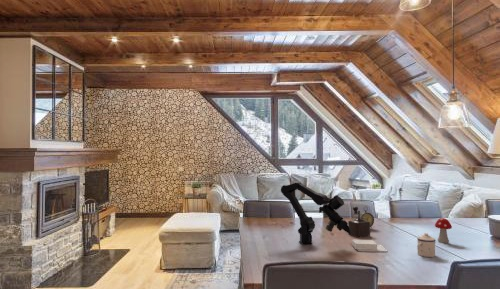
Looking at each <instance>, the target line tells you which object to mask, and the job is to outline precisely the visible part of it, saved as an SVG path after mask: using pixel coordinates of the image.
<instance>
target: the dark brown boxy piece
mask: <svg viewBox="0 0 500 289" xmlns="http://www.w3.org/2000/svg"><path fill="white" fill-rule="evenodd" d="M352 211H353V213H352V215H355V216H356V215H357V216H358V217H357V218H355V219H351V220H348V221H347V223H348V227H349V230H350V232H351V233H350V234H349V233H348V235H350V236H353V237H354V238H355V237H356V238H366V237H371V227H370V222H368V221H366V220H364V219H363V218H360V214H361V211H360V210H359V207H358V206H353V207H352Z"/></svg>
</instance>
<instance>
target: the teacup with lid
mask: <svg viewBox="0 0 500 289" xmlns="http://www.w3.org/2000/svg"><path fill="white" fill-rule="evenodd" d="M416 240H417V249H416V250H417V254H418V256H420V257H425V258H434V257H436V238H435V237H432V236H431V235H429V234H428V233H424V234H423V235H420V236H417V238H416Z"/></svg>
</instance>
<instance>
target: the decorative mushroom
mask: <svg viewBox="0 0 500 289" xmlns="http://www.w3.org/2000/svg"><path fill="white" fill-rule="evenodd" d="M435 227H436V228H438V229H439V233H438V238H437V241H438V243H440V244H446V245H447V244H449V242H450V240H449V237H448V233H447V232H448V231H447V230H450V229H453V226H452V224H451V222H450V221H449V220H448V219H446V218H444V217H442V218H438V219H437V220H436V222H435V224H434V228H435Z"/></svg>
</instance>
